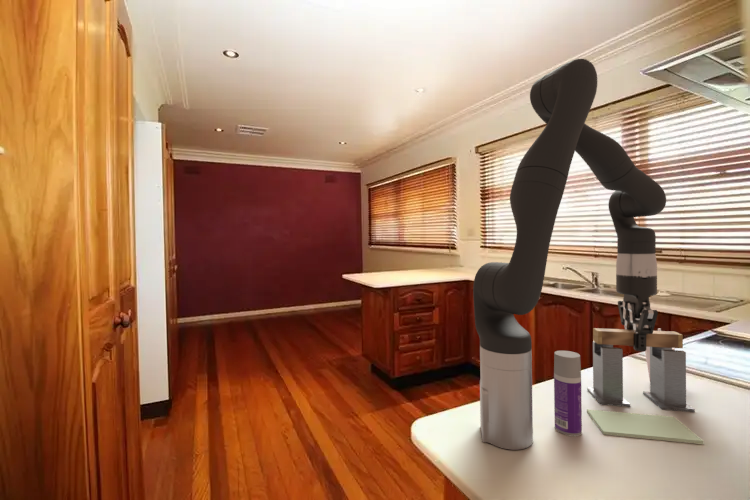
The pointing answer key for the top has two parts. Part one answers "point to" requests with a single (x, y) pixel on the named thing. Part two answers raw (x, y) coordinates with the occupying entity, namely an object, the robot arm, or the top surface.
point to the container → (567, 393)
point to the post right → (668, 379)
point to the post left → (608, 375)
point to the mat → (643, 426)
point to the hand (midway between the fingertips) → (636, 347)
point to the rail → (627, 338)
